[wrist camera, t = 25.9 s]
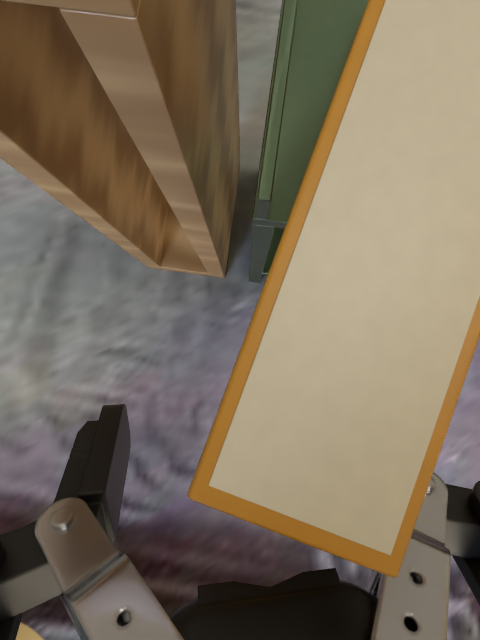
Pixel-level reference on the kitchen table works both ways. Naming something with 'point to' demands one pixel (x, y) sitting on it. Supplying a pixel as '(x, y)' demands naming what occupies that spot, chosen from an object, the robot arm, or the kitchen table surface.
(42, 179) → the tall stand
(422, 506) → the robot arm
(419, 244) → the book
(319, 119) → the book rack
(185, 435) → the kitchen table surface
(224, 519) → the kitchen table surface
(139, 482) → the kitchen table surface
